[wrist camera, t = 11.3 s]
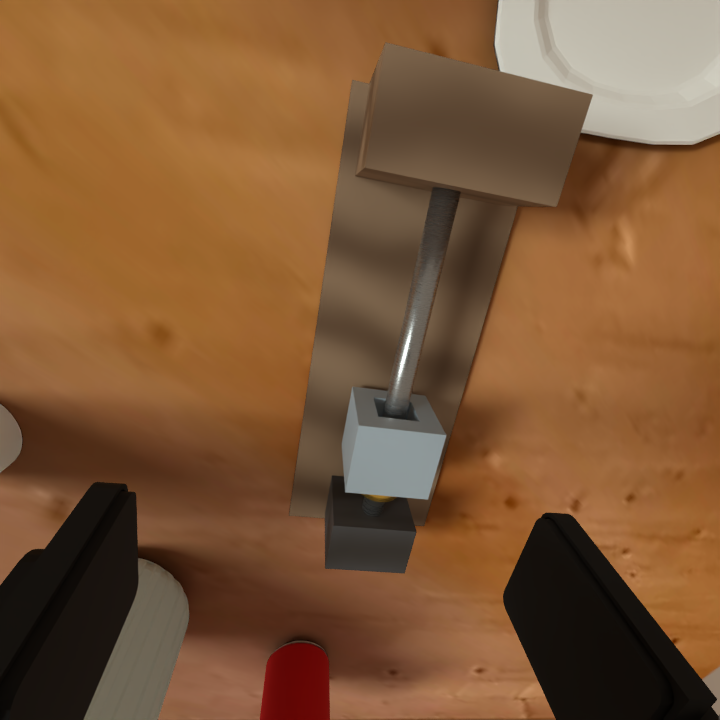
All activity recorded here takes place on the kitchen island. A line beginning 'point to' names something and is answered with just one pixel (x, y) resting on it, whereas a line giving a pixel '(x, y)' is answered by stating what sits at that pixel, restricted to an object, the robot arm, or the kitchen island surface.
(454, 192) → the metal rod
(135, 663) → the vase
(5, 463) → the cylindrical container
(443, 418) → the slide base
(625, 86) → the plate
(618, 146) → the kitchen island surface
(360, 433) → the grey sliding block
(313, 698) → the beverage can
